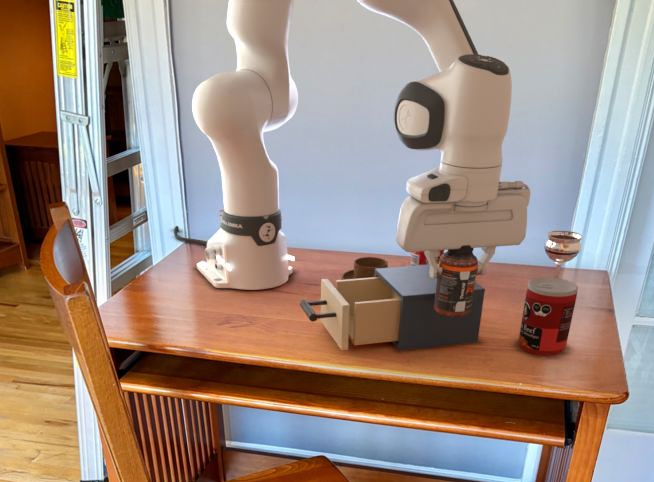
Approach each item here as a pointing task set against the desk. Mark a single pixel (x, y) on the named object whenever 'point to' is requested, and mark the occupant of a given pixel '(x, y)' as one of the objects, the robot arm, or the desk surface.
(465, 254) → the supplement bottle
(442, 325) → the cabinet
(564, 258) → the wineglass
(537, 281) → the canned food
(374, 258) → the place setting
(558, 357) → the desk surface
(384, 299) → the drawer
